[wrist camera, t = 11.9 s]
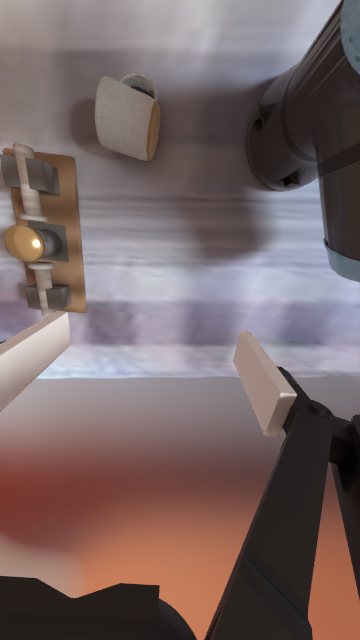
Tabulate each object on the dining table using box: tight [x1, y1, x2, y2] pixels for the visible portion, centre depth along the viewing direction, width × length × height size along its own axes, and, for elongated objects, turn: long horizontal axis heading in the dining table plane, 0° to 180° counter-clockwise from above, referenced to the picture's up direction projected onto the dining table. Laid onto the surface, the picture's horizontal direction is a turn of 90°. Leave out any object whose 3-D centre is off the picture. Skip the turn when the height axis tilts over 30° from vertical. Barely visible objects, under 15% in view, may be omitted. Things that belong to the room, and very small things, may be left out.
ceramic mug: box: [95, 73, 161, 161], centre depth 29 cm, size 11×8×8 cm
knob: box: [4, 225, 62, 261], centre depth 35 cm, size 5×5×7 cm
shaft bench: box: [0, 143, 87, 316], centre depth 36 cm, size 28×11×7 cm, turn 174°
